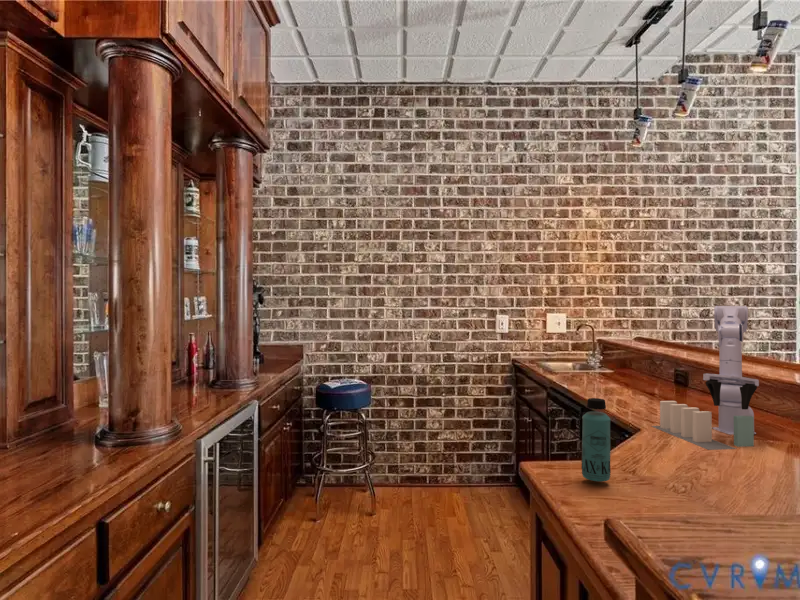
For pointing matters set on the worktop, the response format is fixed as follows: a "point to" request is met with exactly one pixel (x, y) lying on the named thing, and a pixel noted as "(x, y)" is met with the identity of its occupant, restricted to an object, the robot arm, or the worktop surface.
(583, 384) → the worktop surface
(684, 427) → the ivory domino
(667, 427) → the ivory domino
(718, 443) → the mat
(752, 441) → the teal domino
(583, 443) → the beverage bottle
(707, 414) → the ivory domino
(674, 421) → the ivory domino
